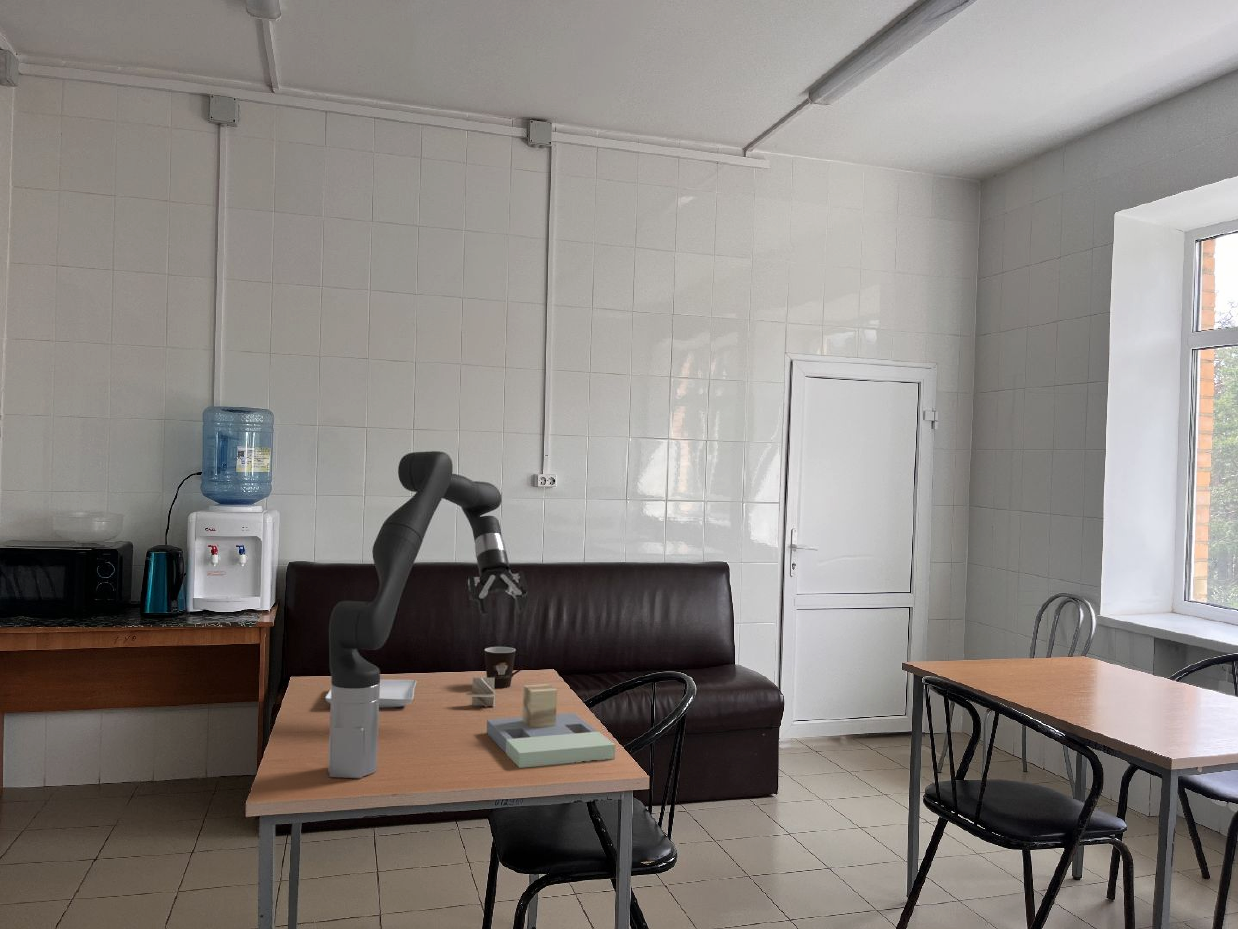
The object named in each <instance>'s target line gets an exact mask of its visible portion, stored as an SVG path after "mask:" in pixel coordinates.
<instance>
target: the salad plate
mask: <svg viewBox="0 0 1238 929" xmlns="http://www.w3.org/2000/svg"><path fill="white" fill-rule="evenodd" d="M417 683H418V682H417V680H415V679H381V678H380V693H379V709H380V708H383V709H384V708H399V707H400V708H401V707H405V706H407V705H409V704H410V703H411V702H413V699H414V697H415V688H416V685H417ZM324 699H325V700H326V702H327V703H329V704H330V705H331V689H330V690H329V691H328V693H327V694H326V695H325V698H324Z"/></svg>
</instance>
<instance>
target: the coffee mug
mask: <svg viewBox="0 0 1238 929" xmlns="http://www.w3.org/2000/svg"><path fill="white" fill-rule="evenodd" d="M516 651H517V650H516V648H514V647H509V646H508V647H507V646H491V647H486V648H485V649H484V660H485V672H486V674H485V675H486V678H495V679H494V689H499V690H500V689H507V688H511V684H512V679H513V676H514V675H516V674H518V673H519V672H521V671H523V669H524V668H525V667H527V665H528V663H529V657H528V656H527V654H525V653H518V654H516ZM522 656H523V657H524V658H525V660H526V661H525V663H524V665H523V666H521V667H520V668H519V669H517V670H515V671H514V665H515V662H516V660H517V659H518V658H519V657H522ZM513 671H514V672H513Z"/></svg>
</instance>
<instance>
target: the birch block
mask: <svg viewBox="0 0 1238 929" xmlns="http://www.w3.org/2000/svg"><path fill="white" fill-rule="evenodd" d="M522 695H523V698H522V700H523V701H522V717H523V720H522V721H523V722H525V723H526V724H527V725H528V726H529V727H530V728H533V727H545V726H556V714H557V708H558V707H557V705H558V702H557V701H558V689H556V688H555V687H554V686H552V685H551V684H549V683H546V684H545V683H543V684H531V685H523V694H522Z"/></svg>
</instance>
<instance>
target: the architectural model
mask: <svg viewBox="0 0 1238 929" xmlns="http://www.w3.org/2000/svg"><path fill="white" fill-rule="evenodd" d="M494 679H495V678H487V677H483V676H481V677H479V676H472V689H471V690H472V691H467V692H466V694H465V697H471V706H483V707H485V708H488V707H492V708H494V707H495V700H496V699H495V695H496V691H495V688H494Z"/></svg>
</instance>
